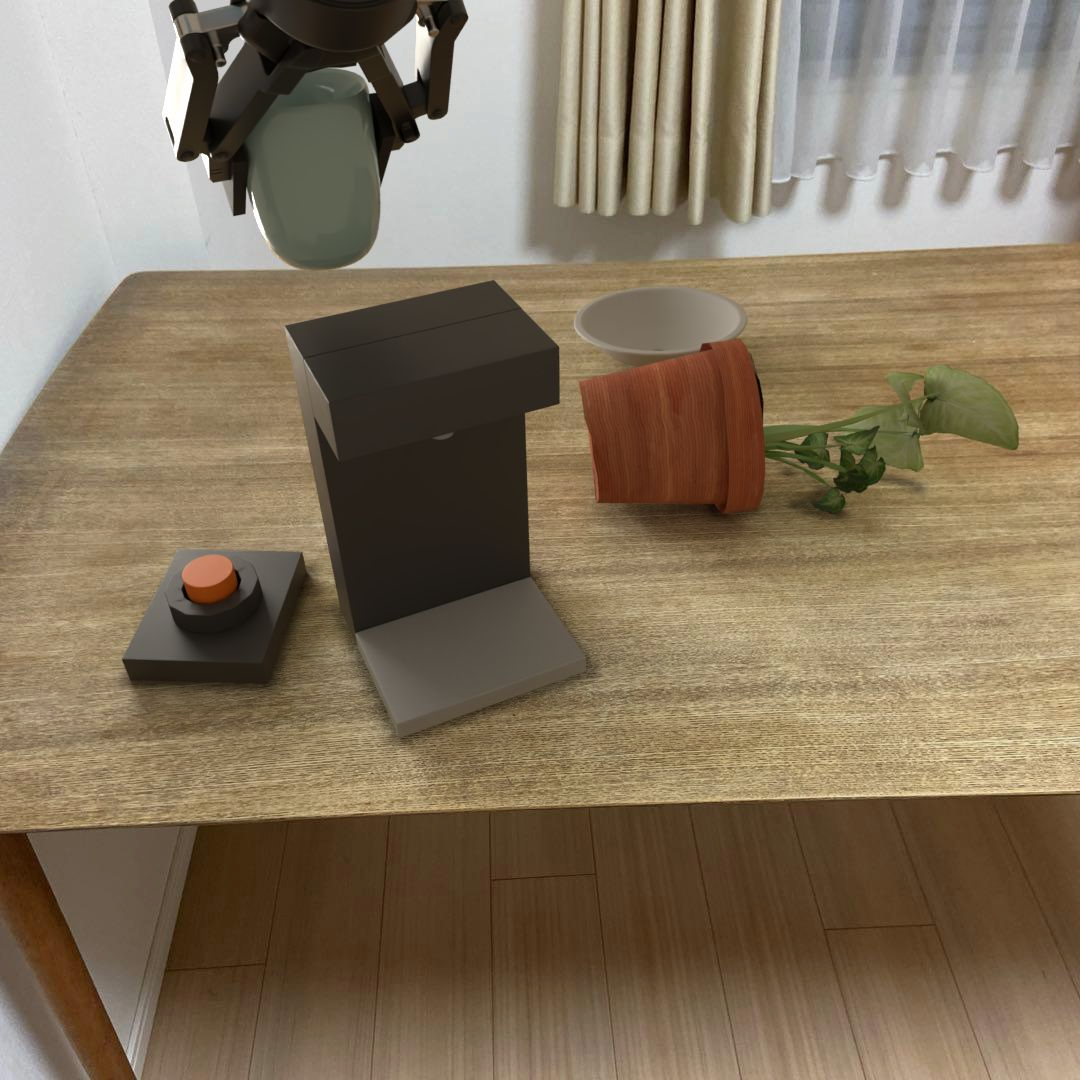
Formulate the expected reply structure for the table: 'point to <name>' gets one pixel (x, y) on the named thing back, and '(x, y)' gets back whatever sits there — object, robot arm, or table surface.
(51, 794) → the table surface
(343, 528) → the coffee maker
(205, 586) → the button
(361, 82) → the cup
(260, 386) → the table surface
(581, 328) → the dish
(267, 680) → the control pad
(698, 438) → the potted plant
